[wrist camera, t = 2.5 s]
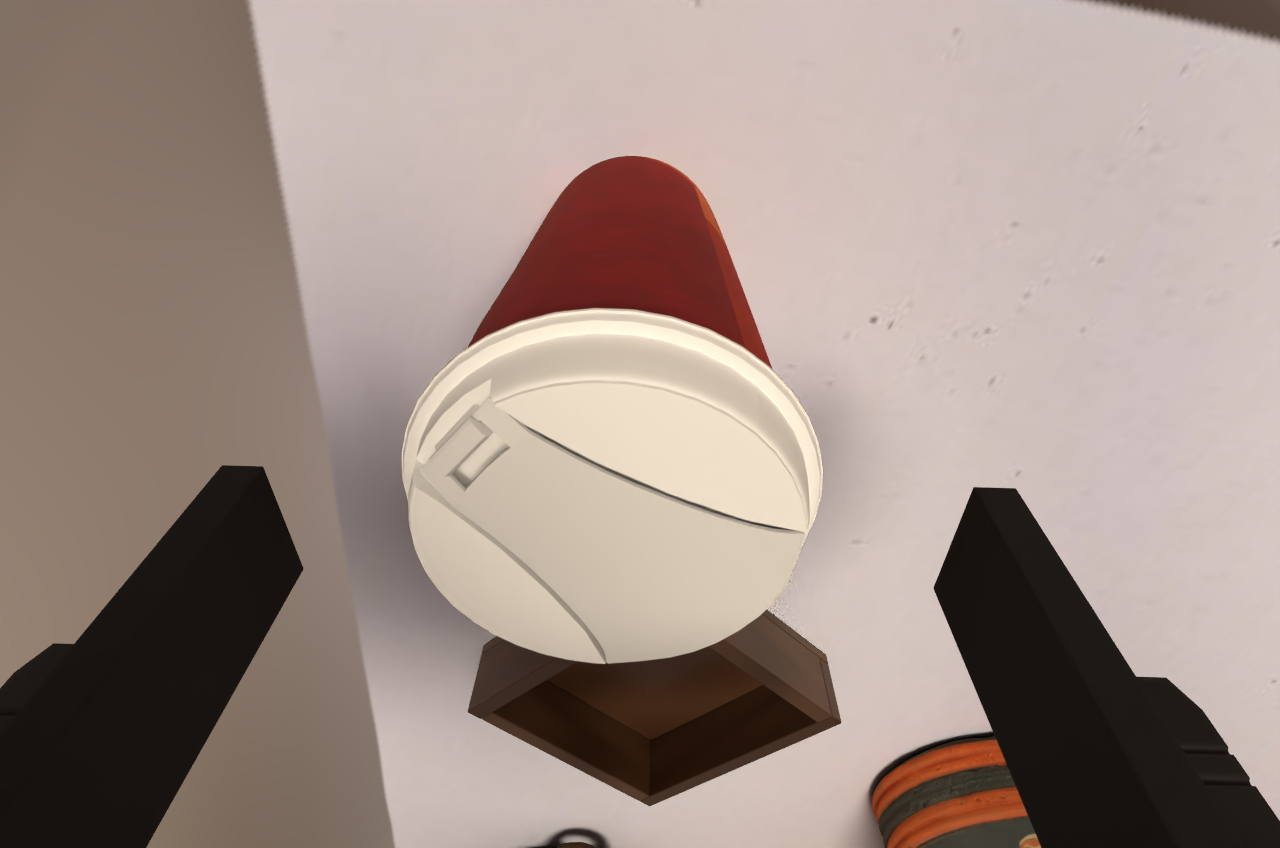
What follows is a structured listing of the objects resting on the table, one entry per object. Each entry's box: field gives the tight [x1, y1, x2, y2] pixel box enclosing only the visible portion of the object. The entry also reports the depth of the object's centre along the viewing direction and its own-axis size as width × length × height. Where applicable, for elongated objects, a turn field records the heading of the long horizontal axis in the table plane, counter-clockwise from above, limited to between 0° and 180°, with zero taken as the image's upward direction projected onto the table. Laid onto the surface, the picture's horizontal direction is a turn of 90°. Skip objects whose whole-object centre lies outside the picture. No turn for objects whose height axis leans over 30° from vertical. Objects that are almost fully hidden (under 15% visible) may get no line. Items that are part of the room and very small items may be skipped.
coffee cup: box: [402, 156, 823, 664], centre depth 18 cm, size 8×8×15 cm
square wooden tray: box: [468, 610, 841, 806], centre depth 37 cm, size 14×14×4 cm
